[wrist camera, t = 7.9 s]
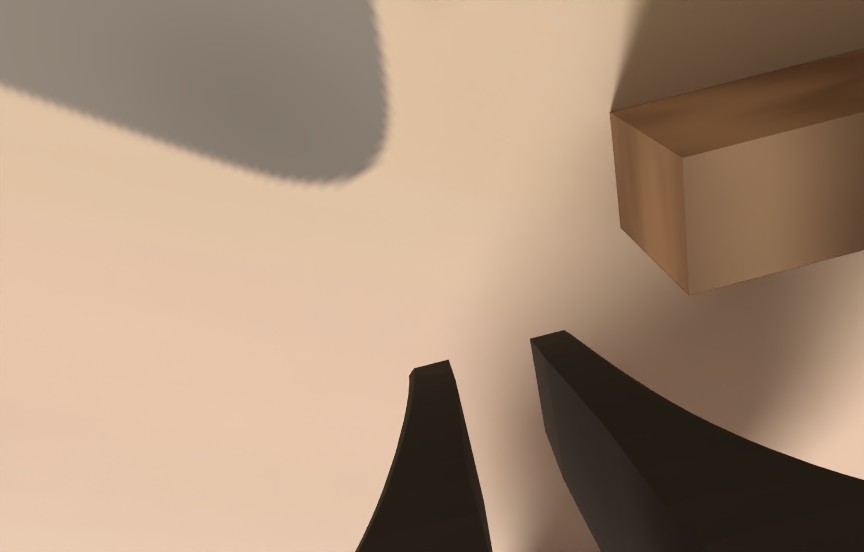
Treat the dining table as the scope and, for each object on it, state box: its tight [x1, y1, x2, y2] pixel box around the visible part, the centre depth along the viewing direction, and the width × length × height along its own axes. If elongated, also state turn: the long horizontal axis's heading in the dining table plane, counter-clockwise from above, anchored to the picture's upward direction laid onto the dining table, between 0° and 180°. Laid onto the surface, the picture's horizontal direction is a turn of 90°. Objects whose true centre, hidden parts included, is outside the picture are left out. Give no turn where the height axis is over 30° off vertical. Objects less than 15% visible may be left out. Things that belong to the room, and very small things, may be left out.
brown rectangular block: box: [610, 49, 864, 295], centre depth 18 cm, size 10×4×4 cm, turn 102°
